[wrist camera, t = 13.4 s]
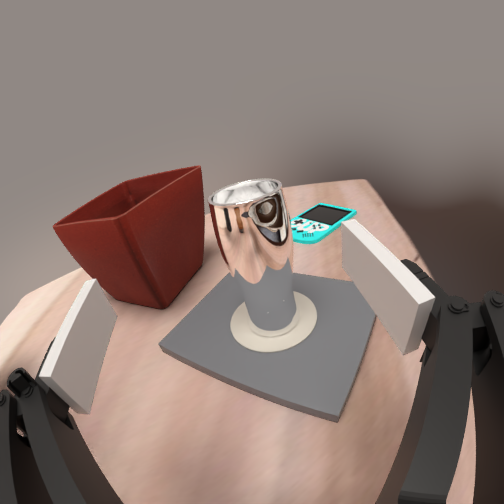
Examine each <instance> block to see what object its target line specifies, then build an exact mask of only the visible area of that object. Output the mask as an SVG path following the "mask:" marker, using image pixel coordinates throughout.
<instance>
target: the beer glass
mask: <svg viewBox="0 0 504 504" xmlns="http://www.w3.org/2000/svg"><path fill="white" fill-rule="evenodd" d="M208 203H209V207H210V212H211V217H212V222H213V227H214V231H215V235H216V239H217V243H218V246H219V249H220V251H221V254H222V257H223V259H224V261H225V263H226V266H227V268H228V270H229V272H230V273H231V275H232V277H233V279H234V281H235V283H236V284H237V286H238V288H239V290H240V292H241V294H242V296H243V299H244V301H245V305H246V317H247V324H248V326H249V328H250V329H251V330H252V331H253V332H254V333H255V334H258V335H260V336H265V337H274V336H279V335H282V334H285V333H287V332H289V331H290V330H292V329H293V328H294V327H295V326H296V325H297V323H298V321H299V319H300V309H299V306H298V304H297V301H296V299H295V296H294V292H293V285H292V280H293V255H294V250H293V234H292V226H291V221H290V216H289V211H288V208H287V204H286V200H285V196H284V193H283V189H282V184H281V182H280V181H278V180H275V179H253V180H247V181H243V182H238V183H235V184H231V185H229V186H226V187H223V188H221V189H220V190H217V191H216V192H214V193H213V194H211V195H210V197H209V198H208Z"/></svg>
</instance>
